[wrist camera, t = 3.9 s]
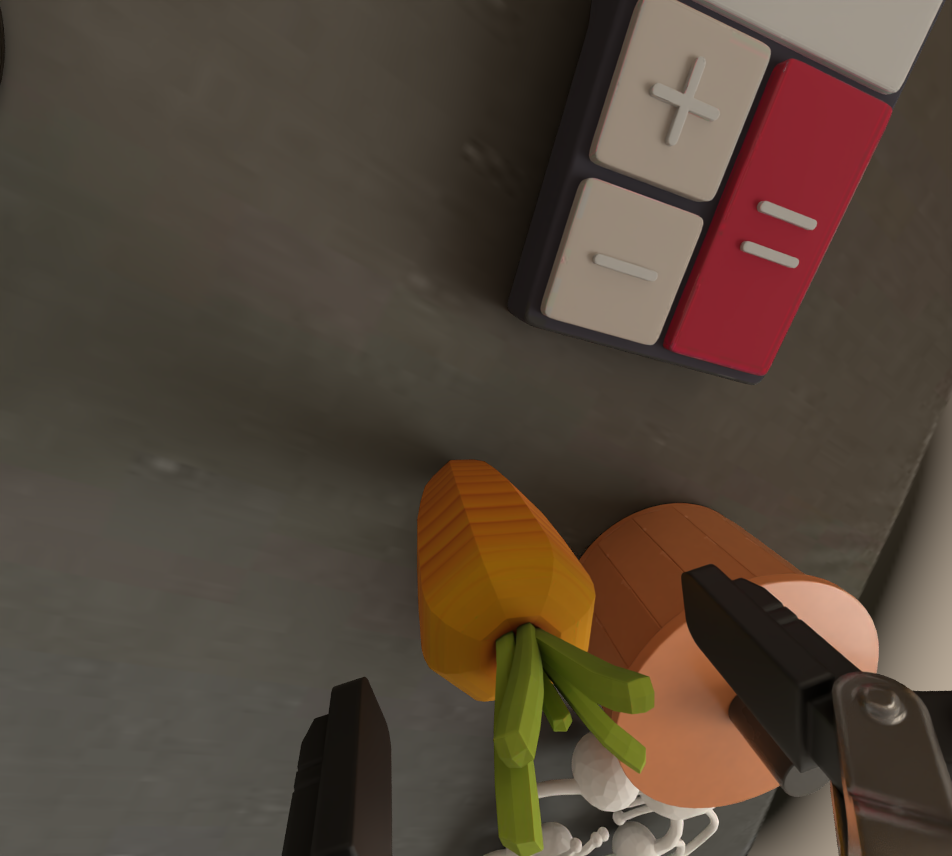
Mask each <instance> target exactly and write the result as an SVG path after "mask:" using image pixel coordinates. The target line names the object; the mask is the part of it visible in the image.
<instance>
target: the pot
mask: <svg viewBox="0 0 952 856" xmlns="http://www.w3.org/2000/svg"><path fill="white" fill-rule="evenodd" d="M579 562H580V563H581V565H582V566H583V568H584V569H585V570H586V572H587V573H588V574H589V576H590V578H591V580H592V582H593V584H594V590H595V595H596V596H595V603H594V611H593V618H592V625H591V632H590V639H589V647H588V651H587V652H588V653H590V654H592V655H594V656H596V657H598V658H600V659H602V660H604V661H606V662H608V663H610V664H612V665H614V666H618V667H621V668H624V669H629V667H630V666H631V665H632V663H633V662H634V660H635V659H636V657H637V656H638V654H639V653H640V651H641V650H642V649H643V648H644V647H645V646H646V644H647V643H648V642H649V641H650V640H651V639H652V637H653V636H654V635H655V634H656V633H657V632H659V631H660V630H661V629H662V628H663V627H664V626H665V625H666V624H667V623H668V622H669V621H671V620H672V619H673V618H674V617H676V616H677V615H678V614H679V613H681V612H682V611H683V610H685V609H684V601H683V592H682V583H681V575H682V573H684V572H687V571H690V570H693V569H696V568H699V567H702V566H705V565H708V564H714V565H715V566H717V567H718V568H719V569H720V570H721V571H722V572H723V573H725V574H726V575H727V576H728V577H729V578H730V579H731V580H735V579H738V578H741V577H742V578H744V579H746V580H747V579H751V578H754V577H759V576H765V575H772V574H789V573H793V574H803V575H805V574H804V573H802V572H801V571H800V570H798V569H797V568H796V567H794V566H793V565H792V564H790V563H789V562H788V561H786V560H785V559H783V558H782V557H781V556H779V555H778V554H777V553H775V552H774V551H773V550H771V549H770V548H769V547H767V546H766V545H764V544H763V543H762V542H760V541H759V540H758V539H756V538H755V537H754V536H752V535H751V534H750V533H748V532H747V531H746V530H744V529H743V528H741V527H740V526H739V525H737V524H736V523H734V522H732V521H731V520H729V519H727V518H725V517H724V516H723V515H721V514H720V513H718V512H716V511H714V510H712V509H710V508H707V507H703V506H700V505H695V504H687V503H671V504H664V505H658V506H654V507H650V508H647V509H644V510H641V511H639V512H636V513H634V514H632V515H630V516H628V517H626V518H624V519H622V520H620V521H619V522H617V523H616V524H614V525H613V526H611V527H610V528H609V529H607V530H606V531H605V532H604V533H603V534H601V535H600V536H599V537H598V538H597V539H596V540H595V541H594V542H593V543H592V544H591V545H590V546H589V548H588V549H587V550H586V551H585V553H584V554H583V555H582V557H581V558H580V560H579ZM601 706H602V705H601ZM602 708H603V710H604V712H605V713H606V714H607V715H608V716H609V717H610V718H612V711H613V710H611V709H609V708H606V707H604V706H602Z"/></svg>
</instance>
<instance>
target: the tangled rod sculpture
mask: <svg viewBox="0 0 952 856" xmlns="http://www.w3.org/2000/svg"><path fill="white" fill-rule="evenodd" d="M571 764H572V772H573V777H574V779H558V780H547V781H543V782H539V783H536V784H537V791H538V798H541V797H547V796H552V795H574V794H581V795H582V796H583V797H584V798H585V799H586V800H587V801H588V802H589V803H590V804H591V805H593V806H595V807H597V808H598V809H599V810H603V811H611V812H614V813H613V820H614V822H615V823H616V824H617V825H620V826H619V827H618V828H617V830H616V832H615V833H614V835H613V838H612V851H613V854H610V855H606V856H660V855H662V854H664V853H666V852H667V851H669V850H671V849H673V848H674V847H677V849H676V851H675V852H674V853H672V854H671V855H669V856H687V855H689V854H690V853H691V852H692V851H694V850H695V849H696V848H697V847H699V846H700V845H701V844H702V843H704V842H705V841H706V840H707V839H708V838H709V837H710V836H711V835H713V834H714V833H715V831H716V830H717V828H718V824H719V820H718V817H717V815H716V814H715V812H714V811H713V810H712V809H713V808H715V807H712V808H683V807H676V806H672V805H667V804H664V803H661V802H659V801H656V800H654V799H652V798H650V797H649V796H647V795H645V794H643V793H642V792H641V791H640V790H639V789H637V788H636V787H635V786H634V785H633V784H632V783H631V781H630V780H629V779H628V778H627V777H626V775H625V773H624V771H623V769H622V767H621V766H620V764H619V761H618V759H617V758H616V757H615V756H614V755H613V754H612V753H611V752H609V751H608V750H607V749H606V748H605V747H604V746H602V744H601V743H600V742H599V741H598V740H597V738H596V737H595V736H594V735H593V734H592V732H589V733H587V734H586V735H584V736H583V737H582V738H581V739H580V741H579V742H578V743H577V745H576V747H575V749H574V752H573V756H572V763H571ZM637 795H641V797H637V798H636V796H637ZM642 804H646V805H645V806H641V807H638V808H635V809H632V810H630V811H628V812H625V813H623V812H622V811H621V810H622V809H625V808H627V807H634V806H638V805H642ZM653 811H654V812H656V813H658V814H659V815H662V816H664V817H667V818H669V819H671V826H670V828H669V830H668V832H667V834H666V835H665V836H664V837H662V838H660V839H657V840H656V839H655V837H654V836H653V834H652V833H651V831H650V830H649V829H648V828H647V827H646V826H644V825H642V824H640V823H638V822H634V821H629V822H625V821H626V820H629V819H631V818H634V817H636V816H639V815H641V814H645V813H649V812H653ZM705 813H706V814H707V815H708V816H709V818H710V819H711V821H710V824H709V825H708V826H707V827H706V828H705V829H704V830H703V831H702V832H701V833H700V834H699V835H698V836H697V837H695V838H694V839H693V840H692V841H690V842H689V843H688V844H686V845H685V843H684V842H683V841H682V840H681V839H680V837H681V835H682V831H683V824H684V823H683V820H685V819H688V818H691V817H694V816H698V815H701V814H705ZM541 827H542V836H543V846H544V849H543V850H542V851H540V852H538V853H535V854H533V855H531V856H585V855H587V854H589V853H590V852H591V851H592V850H593V849H594V848H595V847H599V846H601V844H602V841H603V842H605V841H607V840H608V838H609V832H608V830H607V829H606V828H605V827H600V828H599V829H598V831H597V832H593V833H592V834H591V836H590V840H589V841H588V842H587V843H586V844H585V845H584V846H583V847H582V842H581V841H580V839H578V838H576V837H575V838H572V836H571V834H570V832H569V830H568V829H567V828H566V827H564V826H563V825H561V824H559V823H556V822H545V823H543V824H541ZM483 856H518V855H517V854H515V853H514V852H512V851H511V850H509V849H508V848H506V849H501V850H496V851H493V852H490V853H487V854H485V855H483Z"/></svg>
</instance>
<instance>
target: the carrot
mask: <svg viewBox="0 0 952 856" xmlns="http://www.w3.org/2000/svg"><path fill="white" fill-rule="evenodd" d="M417 576H418V605H419V619H420V632H421V646H422V652H423V656H424V659H425V661H426V662H427V664H428V666H429V668H430V669H432V670H433V671H435V672H436V673H437V674H439V675H440V676H442V677H443V678H445V679H446V680H448V681H449V682H450V683H452V684H453V685H455V686H456V687H458V688H459V689H461V690H462V691H463V692H465V693H466V694H468V695H469V696H471V697H472V698H474V699H475V700H477V701H484V702H485V701H493V700H495V711H494V739H493V741H494V769H495V794H496V807H497V820H498V833H499V838H500V840H501V843H502V845H503V846H505V847H506V848H508V849H509V850H511V851H512V852H514V853H515V854H517V855H518V856H531V855H533V854H535V853H538V852H540V851H542V850H543V849H544V846H543V836H542V827H541V818H540V808H539V799H538V791H537V784H536V777H535V770H534V762H533V760H534V758H535V753H536V747H537V742H538V737H539V732H540V726H541V716H542V709H543V711H544V713H545V715H546V717H547V719H548V721H549V723H550V725H551V727H552V729H553V731H554V732H558V731H567V730H568V728H569V726H570V724H571V723H572V718H571V715H570V712H569V711H568V709H567V707H566V706H565V704H564V702H563V701H562V699H561V697H560V696H559V694H558V692H557V691H556V689H555V687H556V688H557V689H558V691H559V692H560V693H561V695H562V696H563V697H564V698H565V700H566V701H567V702H568V704H569V705H570V706H571V707H572V709H573V710H574V711H575V713H576V714H577V715H578V716H579V718H580V719H581V720H582V721H583V723H584V724H585V725H586V726H587V728H588V729H589V730H590V731H591V732H592V734H593V735H594V736H595V737H596V738H597V740H598V741H599V742H600V743H601V744H602V746H604V747H605V748H606V749H607V750H608V751H609V752H611V753H612V754H613V755H614V756H615V757H616V758H618V759H619V760H620V761H621V762H622V763H624V764H625V765H627V766H628V767H630V768H631V769H633V770H634V771H636V772H637V773H639V774H640V773H641V771H642V769H643V768H644V766H645V764H646V748H645V747H644V746H643V745H642V744H641V743H640V742H638V741H637V740H636V739H635V738H634V737H632V736H631V735H630V734H629V733H627V732H626V731H625V730H624V729H622V728H621V727H620V726H619V725H617V724H616V723H615V722H614V721H613V720H612V719H611V718H610V717H609V716H608V715H607V714H606V713H605V712H604V711H603V710H602V709H601V708H600V707H599V706H598V704H599V705H602V706H604V707H606V708H609V709H611V710H613V711H616V712H622V713H627V714H639V713H646V712H647V711H649V710H651V709H652V708H654V689H653V686H652V683H651V680H650V677H649V676H646V675H643V674H640V673H637V672H634V671H631V670H628V669H624V668H621V667H618V666H614V665H612V664H610V663H608V662H606V661H604V660H602V659H600V658H598V657H596V656H594V655H592V654H590V653H588V652H587V651H588V647H589V639H590V632H591V625H592V618H593V611H594V603H595V596H596V595H595V590H594V584H593V582H592V580H591V578H590V576H589V574H588V573H587V572H586V570H585V569H584V568H583V566H582V565H581V563H580V562H579V561H578V559H577V558H576V556H575V555H574V554H573V552H572V551H571V549H570V548H569V547H568V545H567V544H566V543H565V541H564V540H563V539H562V537H561V536H560V535H559V533H558V532H557V531H556V530H555V528H554V527H553V526H552V525H551V523H550V522H549V521H548V520H547V518H546V517H545V516H544V515H543V513H542V512H541V511H540V510H539V509H538V508H537V507H536V506H535V505H534V504H533V503H531V502H530V501H529V500H528V499H527V498H526V497H525V496H524V495H523V494H522V493H521V492H520V491H519V490H518V489H517V488H516V487H515V486H514V485H513V484H512V483H511V482H510V481H509V480H507V479H506V478H505V477H504V476H503V475H502V474H501V473H499V472H498V471H497V470H496V469H494V468H493V467H492V466H490V465H489V464H487V463H486V462H484V461H479V460H473V459H472V460H450V461H449V462H448V463H447V464H445V465H444V466H443V467H442V468H441V469H440V470H439V471H438V472H437V473H436V474H435V475H434V476H433V477H432V478H431V479H430V481H429V482H428V483H427V484H426V486H425V488H424V492H423V495H422V499H421V502H420V508H419V513H418V519H417ZM553 684H554V686H555V687H554V686H553Z"/></svg>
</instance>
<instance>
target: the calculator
mask: <svg viewBox="0 0 952 856" xmlns="http://www.w3.org/2000/svg"><path fill="white" fill-rule="evenodd" d="M944 3H945V0H592V2H591V10H590V19H589V26H588V29H587V33H586V36H585V40H584V43H583V47H582V50H581V53H580V57H579V60H578V64H577V67H576V71H575V74H574V77H573V81H572V84H571V88H570V91H569V94H568V98H567V101H566V105H565V108H564V111H563V115H562V118H561V122H560V125H559V128H558V132H557V135H556V139H555V142H554V145H553V149H552V152H551V156H550V159H549V163H548V166H547V169H546V173H545V176H544V180H543V183H542V186H541V190H540V193H539V197H538V200H537V203H536V207H535V210H534V214H533V217H532V220H531V224H530V227H529V231H528V234H527V237H526V241H525V244H524V248H523V251H522V255H521V258H520V261H519V265H518V268H517V272H516V275H515V278H514V282H513V285H512V289H511V292H510V296H509V299H508V309H509V311H510V312H511V313H512V314H513V315H515V316H516V317H518V318H519V319H521V320H522V321H524V322H525V323H527V324H529V325H531V326H534V327H537V328H540V329H544V330H548V331H552V332H555V333H559V334H563V335H566V336H570V337H574V338H578V339H581V340H585V341H589V342H592V343H596V344H600V345H604V346H607V347H611V348H615V349H618V350H622V351H626V352H630V353H633V354H637V355H641V356H644V357H648V358H652V359H656V360H659V361H663V362H667V363H670V364H674V365H678V366H682V367H685V368H689V369H693V370H696V371H700V372H704V373H708V374H711V375H715V376H719V377H722V378H726V379H730V380H734V381H737V382H741V383H745V384H749V385H755V384H757V383H759V382H761V381H762V379H763V378H764V376H765V374H766V373H767V372H768V370H769V368H770V367H771V365H772V363H773V360H774V358H775V356H776V354H777V352H778V350H779V348H780V346H781V344H782V342H783V340H784V338H785V336H786V334H787V331H788V329H789V327H790V325H791V323H792V321H793V319H794V317H795V315H796V313H797V311H798V309H799V307H800V305H801V302H802V300H803V298H804V296H805V294H806V292H807V290H808V288H809V286H810V284H811V282H812V280H813V278H814V275H815V273H816V271H817V269H818V267H819V265H820V263H821V261H822V259H823V257H824V255H825V253H826V251H827V249H828V246H829V244H830V242H831V240H832V238H833V236H834V234H835V232H836V230H837V228H838V226H839V224H840V222H841V220H842V217H843V215H844V213H845V211H846V209H847V207H848V205H849V203H850V201H851V199H852V197H853V195H854V193H855V191H856V188H857V186H858V184H859V182H860V180H861V178H862V176H863V174H864V172H865V170H866V168H867V166H868V164H869V161H870V159H871V157H872V155H873V153H874V151H875V149H876V147H877V145H878V143H879V141H880V139H881V137H882V135H883V132H884V130H885V128H886V126H887V124H888V122H889V119H890V117H891V114H892V111H893V108H894V106H895V104H896V102H897V100H898V98H899V96H900V94H901V92H902V90H903V88H904V86H905V84H906V81H907V79H908V77H909V75H910V73H911V71H912V69H913V67H914V65H915V63H916V61H917V59H918V57H919V54H920V52H921V50H922V48H923V46H924V44H925V42H926V40H927V38H928V36H929V34H930V32H931V30H932V27H933V25H934V23H935V21H936V19H937V17H938V15H939V13H940V11H941V9H942V7H943V5H944Z"/></svg>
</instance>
